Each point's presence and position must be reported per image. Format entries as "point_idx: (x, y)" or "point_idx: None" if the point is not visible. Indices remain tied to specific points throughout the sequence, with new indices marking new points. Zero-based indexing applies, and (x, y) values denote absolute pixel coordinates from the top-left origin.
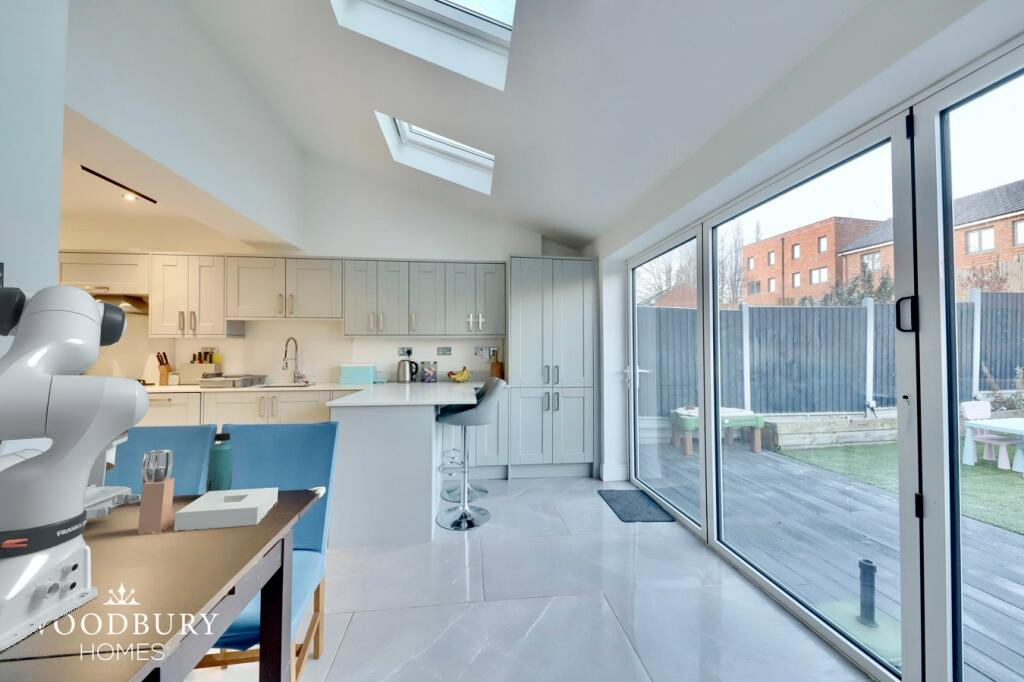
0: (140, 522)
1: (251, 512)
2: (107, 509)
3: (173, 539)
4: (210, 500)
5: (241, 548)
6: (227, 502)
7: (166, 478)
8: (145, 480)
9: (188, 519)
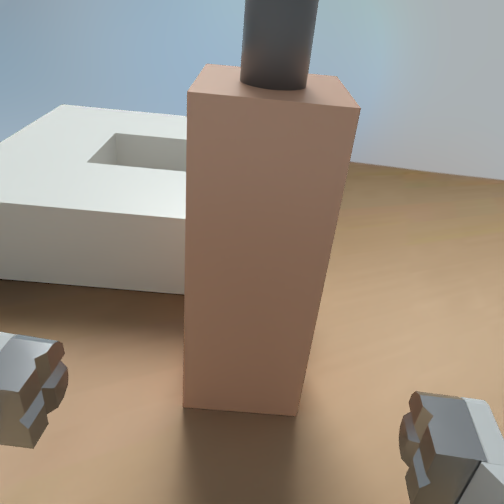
0: (305, 357)
1: None
2: (465, 399)
3: (371, 286)
4: (136, 180)
5: (431, 186)
6: None
7: None
8: None
9: None
